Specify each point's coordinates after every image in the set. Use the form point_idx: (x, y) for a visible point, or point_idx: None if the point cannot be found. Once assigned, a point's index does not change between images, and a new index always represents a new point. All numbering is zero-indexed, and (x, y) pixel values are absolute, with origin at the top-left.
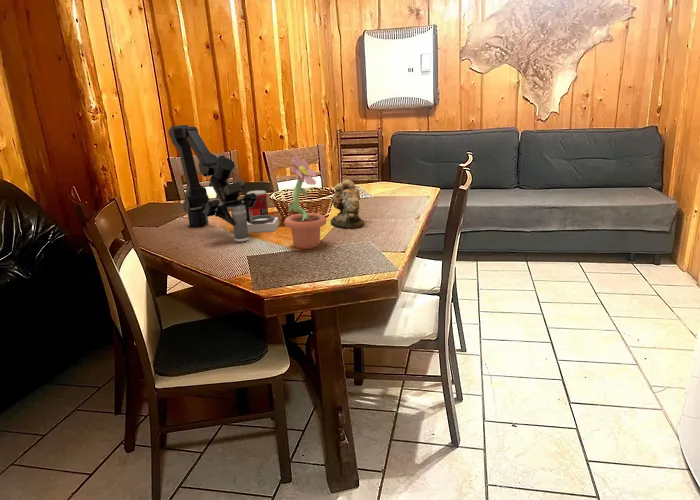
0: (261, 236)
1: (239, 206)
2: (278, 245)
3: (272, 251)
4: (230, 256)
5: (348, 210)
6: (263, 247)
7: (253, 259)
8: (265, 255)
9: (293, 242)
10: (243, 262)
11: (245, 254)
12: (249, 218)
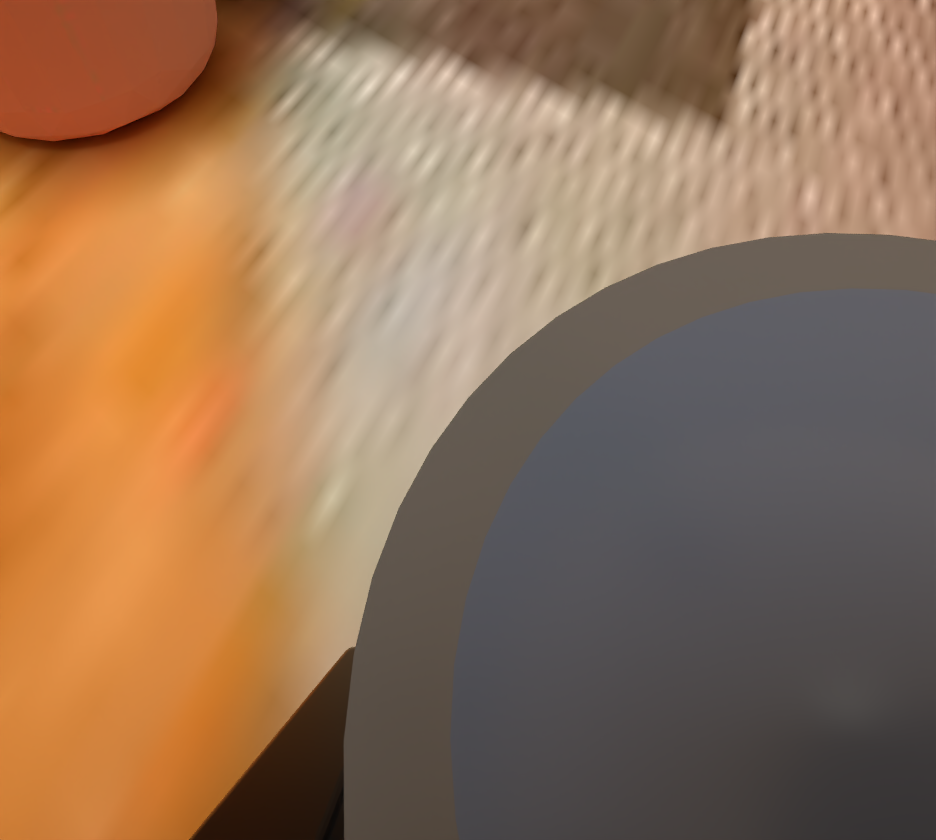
0: (174, 810)
1: (884, 452)
2: (285, 223)
3: (447, 105)
4: (892, 211)
5: None
6: (456, 262)
7: (693, 31)
8: (557, 55)
9: (194, 43)
10: (797, 18)
11: (722, 177)
12: (335, 680)
